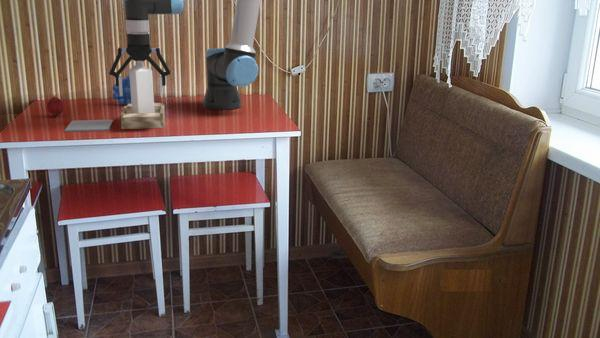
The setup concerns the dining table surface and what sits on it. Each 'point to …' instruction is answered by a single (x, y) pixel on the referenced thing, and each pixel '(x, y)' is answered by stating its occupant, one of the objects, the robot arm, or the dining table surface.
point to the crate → (143, 118)
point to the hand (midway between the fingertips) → (141, 95)
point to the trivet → (89, 125)
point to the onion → (55, 106)
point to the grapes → (126, 92)
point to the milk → (141, 89)
